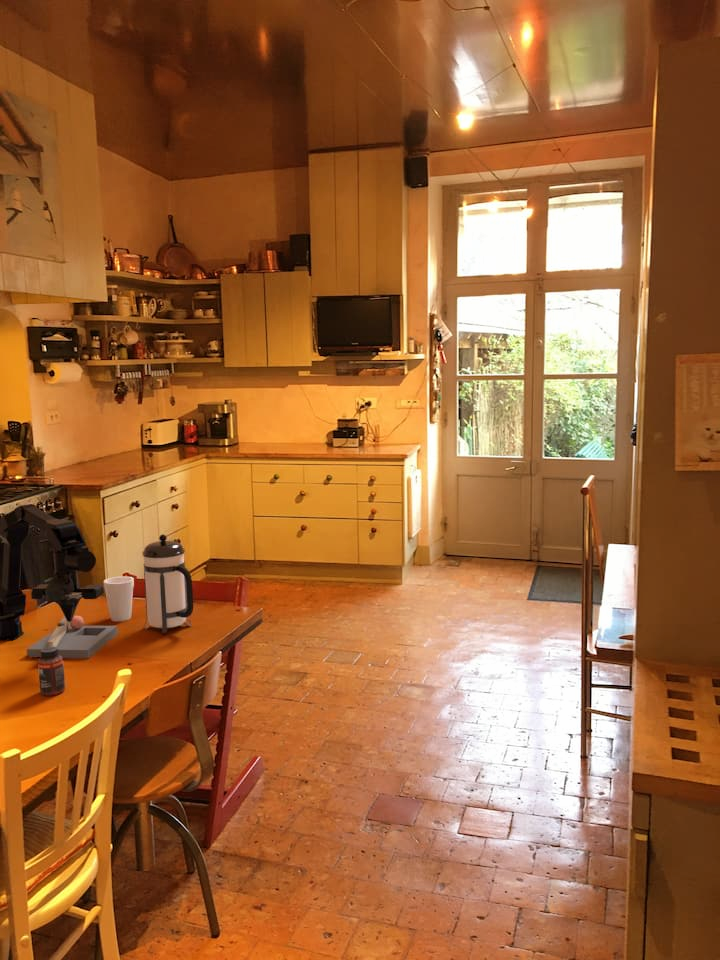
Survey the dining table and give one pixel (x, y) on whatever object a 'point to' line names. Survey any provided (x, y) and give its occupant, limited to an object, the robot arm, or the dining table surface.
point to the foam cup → (119, 597)
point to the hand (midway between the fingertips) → (69, 621)
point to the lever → (58, 633)
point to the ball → (76, 622)
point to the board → (77, 641)
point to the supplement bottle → (51, 672)
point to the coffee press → (167, 585)
